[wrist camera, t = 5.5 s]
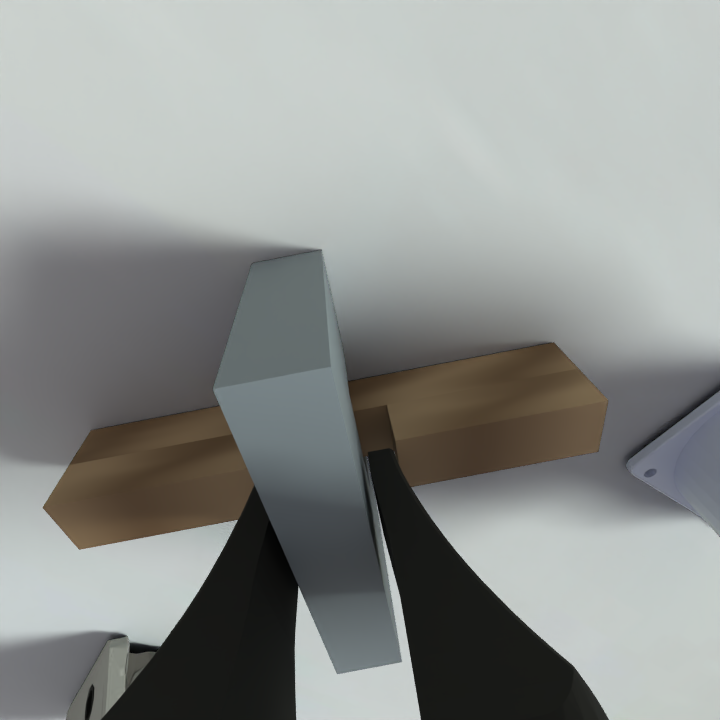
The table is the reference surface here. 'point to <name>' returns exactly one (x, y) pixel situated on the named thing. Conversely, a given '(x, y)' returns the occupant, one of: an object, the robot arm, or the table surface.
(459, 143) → the table surface
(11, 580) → the table surface
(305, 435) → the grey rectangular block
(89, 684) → the electrical switch
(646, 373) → the table surface
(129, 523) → the notched walnut bar
